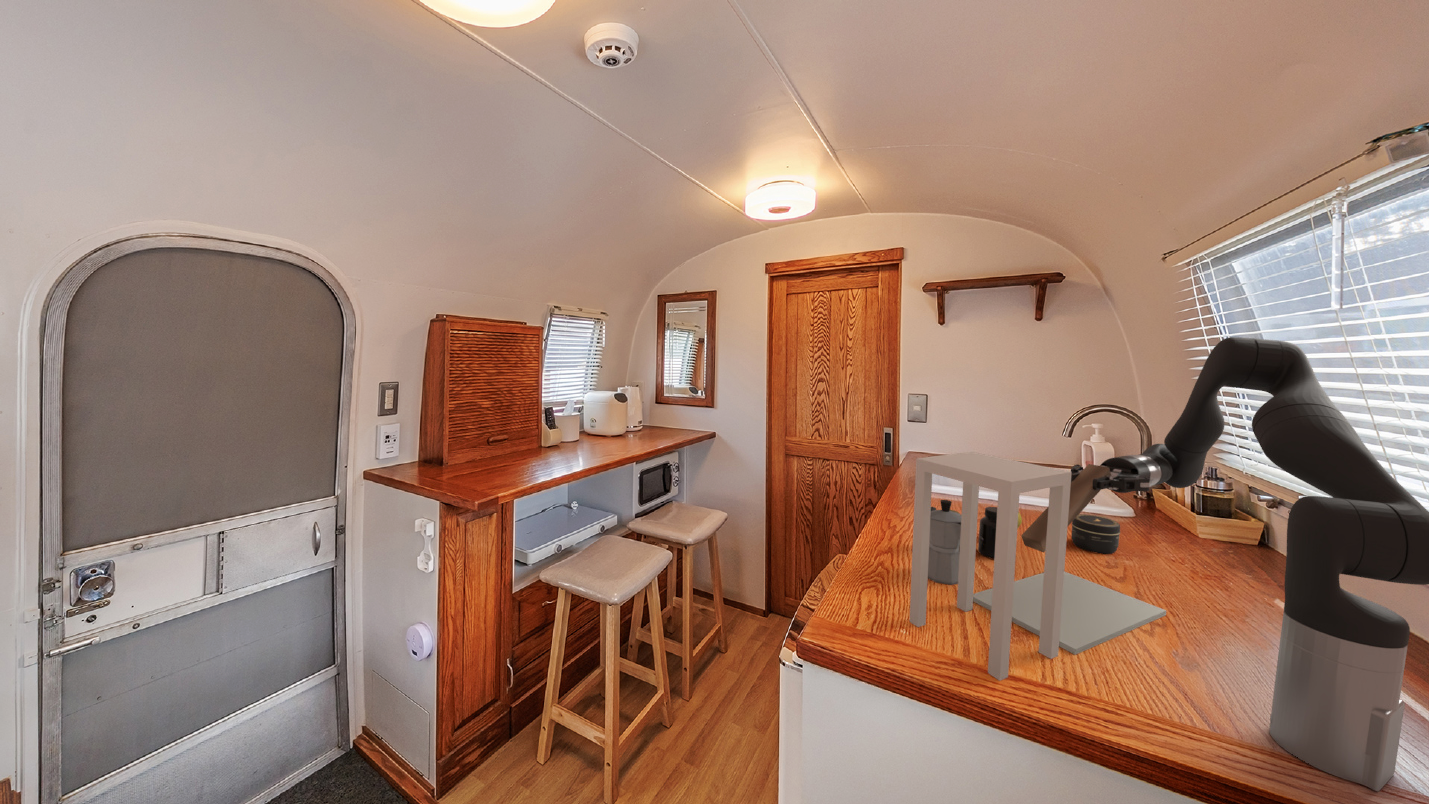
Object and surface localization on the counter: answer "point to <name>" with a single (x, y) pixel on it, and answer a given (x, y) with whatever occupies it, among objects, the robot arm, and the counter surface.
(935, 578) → the coffee maker
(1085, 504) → the walnut bar
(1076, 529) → the jar
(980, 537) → the supplement bottle
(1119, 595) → the grey-green mat
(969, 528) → the grey table
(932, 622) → the counter surface
